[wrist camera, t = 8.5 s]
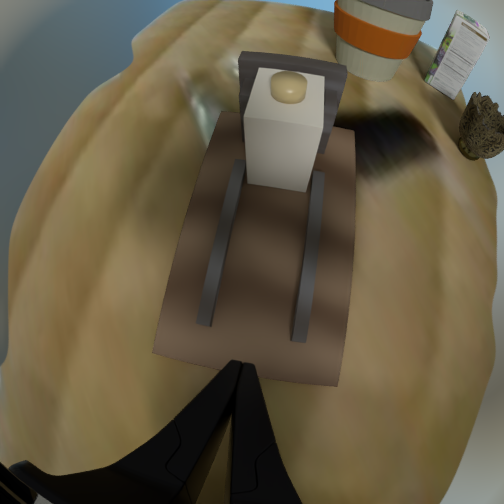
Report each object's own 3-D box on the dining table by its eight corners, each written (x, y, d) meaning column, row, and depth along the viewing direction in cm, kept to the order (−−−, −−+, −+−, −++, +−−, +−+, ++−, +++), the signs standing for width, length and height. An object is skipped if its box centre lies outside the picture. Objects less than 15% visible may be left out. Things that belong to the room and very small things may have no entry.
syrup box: (427, 69, 33) (454, 7, 19) (456, 88, 32) (488, 28, 18) (423, 81, 32) (454, 12, 18) (454, 102, 31) (491, 37, 17)
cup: (436, 137, 28) (464, 94, 20) (458, 124, 29) (483, 87, 21) (474, 183, 25) (510, 146, 18) (492, 164, 27) (523, 132, 19)
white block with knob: (305, 192, 24) (326, 115, 15) (247, 183, 24) (242, 103, 15) (310, 141, 26) (326, 64, 17) (259, 133, 26) (258, 55, 17)
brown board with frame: (333, 385, 19) (380, 405, 11) (156, 352, 21) (98, 352, 12) (351, 137, 27) (375, 72, 19) (222, 117, 28) (212, 49, 20)
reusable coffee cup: (378, 47, 35) (398, -22, 20) (418, 92, 31) (454, 14, 16) (311, 43, 34) (321, -38, 20) (345, 89, 30) (371, -12, 16)
